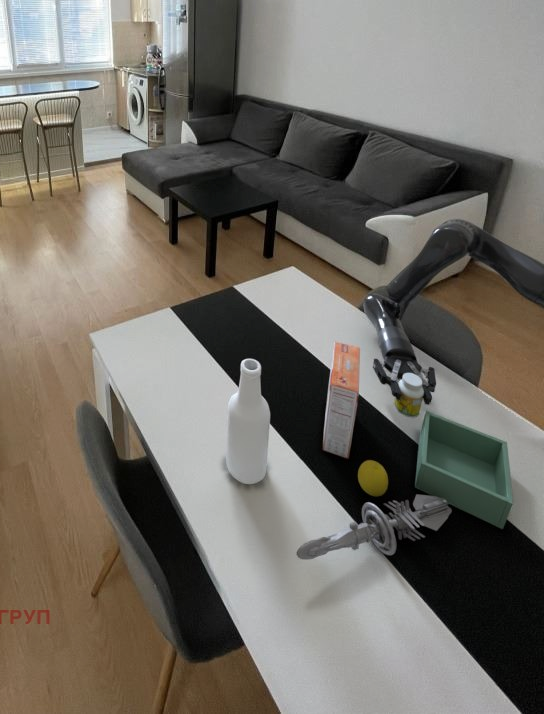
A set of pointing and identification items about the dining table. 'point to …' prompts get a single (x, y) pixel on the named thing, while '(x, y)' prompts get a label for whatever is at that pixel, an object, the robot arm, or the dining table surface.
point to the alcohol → (248, 427)
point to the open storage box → (464, 469)
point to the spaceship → (382, 527)
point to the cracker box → (342, 399)
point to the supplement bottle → (410, 395)
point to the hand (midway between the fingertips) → (413, 399)
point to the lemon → (373, 478)
